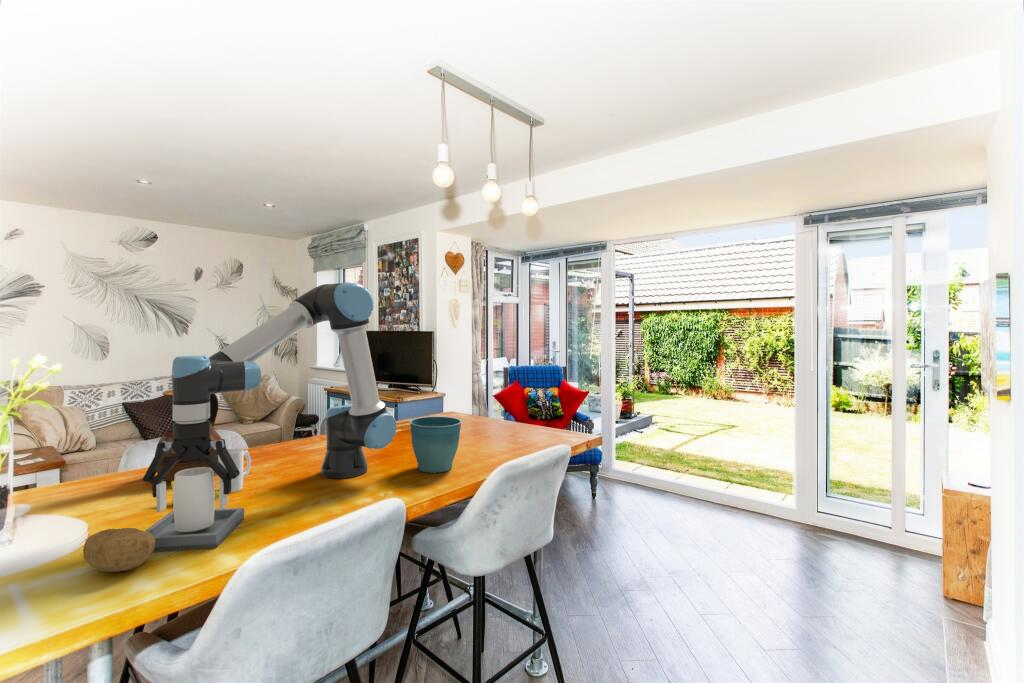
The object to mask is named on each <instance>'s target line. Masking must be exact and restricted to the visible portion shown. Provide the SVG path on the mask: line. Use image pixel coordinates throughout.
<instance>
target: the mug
mask: <svg viewBox="0 0 1024 683" xmlns="http://www.w3.org/2000/svg"><path fill="white" fill-rule="evenodd" d="M226 449H227V450H228V452H229V454H230V456H231V458H232V459H233V461H234V463H235V465H236V467H237V468H238V470H239V472H240V474H239V475H238V476H237V477H236V478H234V479H232V480H231V492H230V493H229V494H232V493H237V492H239V491H241V490H243V487H244V478H245V477H248V475H249V472H250V470H251V465H252V459H251V456H250V453H249V450H248V449H246V450H244V448H241V447H233V448H226ZM244 457H245V458H246V466H245V469H244ZM218 461H219V462H220V463H221V464H222V465H223V466H224V464H223V462H222V461H221V459H220V457H219V455H218ZM224 467H225V466H224ZM226 470H227V469H226ZM221 481H222V479H221V478H220V477H219V476H218V483H219V482H221Z"/></svg>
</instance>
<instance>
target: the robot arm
mask: <svg viewBox="0 0 1024 683" xmlns="http://www.w3.org/2000/svg"><path fill="white" fill-rule="evenodd" d="M373 310H374V299H373V296H372V294H371V293H370V291H369V289H368V288H366V287H365V286H363V285H362V284H361V283H356V282H339V283H325V284H320V285H317V286H315V287H313V288H312V289H310V290H308V291H306V292H305V293H303V294H302V295H300V296H299V297H297V298H295V299H293V300H292V301H291V302H289V304H288V307H287V308H285V309H283V311H281V312H280V313H278V314H275V316H273V317H272V318H270V319H268V320H267V321H265V322H264V323H262V324H260V325H259V326H257V327H255V328H254V329H253V330H251V331H249V332H248V333H246V334H245V335H243V336H241V337H240V338H238V339H236V340H235V341H233V342H232V343H230V344H229V345H226V346H225V347H224V348H222V349H221V350H219V351H216V352H215V353H214V354H212V355H211V356H207V355H179V356H177V357H174V358H173V360H172V366H171V367H172V368H171V381H172V382H171V385H172V386H171V388H172V389H171V390H172V391H173V412H172V421H176V422H175V423H174V424H173V423H172V425H173V439H174V440H173V442H168V441H167V440H165V441H163V442H160V443H159V444H158V443H157V444H158V447H157V446H156V447H157V453H156V455H155V454H154V457H153V459H152V461H151V462H150V464H149V466H148V468H147V470H146V472H145V474H144V476H143V477H142V482H144V483H149V484H151V485H152V488H151V489H152V492H151V493H152V494H151V495H152V498H155V499H156V513H161V512H163V511H164V510H166V509H167V480H164V479H163V478H164V477H165V476H166V475H167V474H168V473H169V472H170V471H171V469H172V468H173V467H174V466H175V465H176V464H177V463H178V462H179V461H180V460H181V459H182V460H183V461H187V460H198V459H201V460H202V461H203V462H205V463H206V464H207V465H208V466H209V467H210V468H211V469H212V470H213V471H214V474H216V475H217V476H218V478H219V477H220V478H221V479H222V481H221V482H219V481H218V491H219V498H218V502H219V508H218V509H226V508H227V507H228V495H229V494H231V493H232V492H231V480H232V479H234V478H236V477H237V476H238V475H239V474H240V472H239V470H238V468H237V467H236V465H235V463H234V461H233V459H232V458H231V456H230V454H229V452H228V450H227V449H228V448H227V445H226V439H224V438H222V439H220V440H218V441H211V439H210V421H209V420H207V419H208V418H209V417H210V394H215V395H216V394H220V393H233V392H234V393H235V392H246V391H250V390H255V389H257V388H258V387H259V386H260V384H261V381H262V371H261V367H260V366H259V364H258V363H257V362H256V360H259V359H260V358H261V357H263V356H264V355H266V354H267V353H269V352H270V351H272V350H273V349H275V348H277V347H278V346H279V345H281V344H282V343H283V342H285V341H286V340H288V339H290V338H291V337H292V336H294V335H295V334H297V333H298V332H300V331H302V330H303V329H304V328H305V329H310V328H312V327H313V326H314V325H318V324H319V323H322V322H328V321H329V326H330V331H332V332H334V333H336V335H337V338H338V344H339V348H340V353H341V358H342V364H343V368H344V372H345V378H346V381H347V382H346V383H347V387H348V392H349V397H350V402H351V404H346V405H345V404H343V405H336V406H332V407H329V408H328V409H327V411H326V418H325V422H326V426H325V427H326V452H325V455H324V458H323V461H322V464H321V468H320V469H321V470H320V474H321V476H323V477H325V478H327V479H328V478H329V479H347V478H354V477H357V476H361V475H364V474H365V473H367V472H368V461H367V458H366V455H365V453H364V449H363V448H364V447H365V448H367V449H371V450H373V449H375V450H382V449H384V448H385V447H387V446H389V444H390V443H391V442H392V441H393V439H394V437H395V436H396V432H397V428H398V427H397V425H398V424H397V421H396V418H395V417H394V416H393V414H391V413H388V412H387V407H386V403H385V402H384V401H383V400H380V397H379V391H378V385H377V381H376V375H375V370H374V366H373V361H372V356H371V350H370V345H369V340H368V335H367V330H366V329H367V327H368V326H369V324H370V320H369V318H370V316H371V315H372V314H373V313H372V312H373ZM211 446H212V447H214V449H215V450H216V451H217V453H218V455H219V457H220V459H221V461H222V462H223V464H224V466H225V467H224V466H223V465H222V464H221V463H220V462H219V461H218V460H217V459H216V458H215V457H214V455H213V454H212V452H211V451H210V450H209V449H210V448H211ZM170 448H172V449H173V450H174V452H175V455H174V456H173V457H172V458H171V459H170V461H169V462H168V463H167V464H166V465H165V466H164V467H163V469H162V470H161V471H160V472H159V473H158V474H157V470H158V468H159V467H160V465H161V463H162V461H163V459H164V457H165V455H166V453H167V451H168V450H170ZM226 469H227V470H226ZM230 492H231V493H230Z"/></svg>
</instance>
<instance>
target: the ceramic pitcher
mask: <svg viewBox="0 0 1024 683" xmlns="http://www.w3.org/2000/svg"><path fill="white" fill-rule="evenodd" d="M162 396H164V397H166V398H167V400H169V401H170V403H171V405H172V406H171V407H172V408H171V411H172V413H173V391H172V389H168V390H166V391H163V392H162ZM218 411H219V399H218V397H217V394H216V393H215V394H210V417H209V418H208V419H207V420H209V421H210V439H211V441H218V440H220V439H223V437H221V435H220V434H219V433H218V431H217V430H216V429H215V423H216V420H217V415H218ZM172 421H173V420H172ZM175 422H176V421H173V422H172V425H171V426H170V427H168V428H167V429H166V430H165V432H164V433H163V435H161V437H160V438H159V440H158V443H157V444H156V448H155V452H154V456H155V455H156V453H157V447H158V444H159V443H160V442H163V441H165V440H167V441H168V442H173V440H174V439H173V424H174V423H175ZM209 450H210V451H211V452H212V454H213V455H214V457H215V458H216V459H217V460H218V453H217V451H216V450H215V449H214V447H212V446H211V448H210V449H209ZM174 455H175V452H174V450H173V449H172V448H170V450H168V451H167V453H166V455H165V457H164V459H163V461H162V463H161V465H160V467H159V468H158V470H157V472H156V475H157V474H158V473H159V472H160V471H161V470H162V469H163V467H164V466H165V465H166V464H167V463H168V462H169V461H170V459H171V458H172V457H173V456H174ZM198 467H208V468H210V467H209V466H208V465H207V464H206V463H205V462H203V461H202V460H201V459H198V460H187V461H183V460H182V459H181V460H180V461H179V462H178V463H177V464H176V465H175V466H174V467H173V468H172V469H171V471H170V472H169V473H168V474H167V475H166V476H165V477H164V478H163V481H169V482H170V480H173V482H174V476H175V474H176V473H177V472H178V471H181V470H185V469H190V468H198Z"/></svg>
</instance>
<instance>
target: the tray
mask: <svg viewBox="0 0 1024 683" xmlns="http://www.w3.org/2000/svg"><path fill="white" fill-rule="evenodd" d="M244 520H245V507H230V508H227V507H226V508H224V509H219V508H215V510H214V523H213V524H212V525H211V526H209V527H207V528H204V529H201V530H197V531H191V532H179V531H176V530H175V523H174V510H172V511H171V512H169V513H168V514H165V516H163V517H162V518H161V519H159V520H158V521H157V522H155V523H154V524H152V525H150V526H149V527H148V528H147V529H145V530H144V531H147V532H150V533H151V534H152V535H153V536H154V539H155V547H154V550H153V551H152V553H156V552H158V553H159V552H171V551H172V552H173V551H188V550H204V549H205V550H206V549H207V550H208V549H217V548H218V547H219V546H220V545H221V544H222V543H223V542H224V541H225V540H226V539H227V537H229V536H230V534H231V533H233V531H234V530H236V528H237V527H238V526H239V525H240V524H241V523H242V522H243V521H244Z"/></svg>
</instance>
